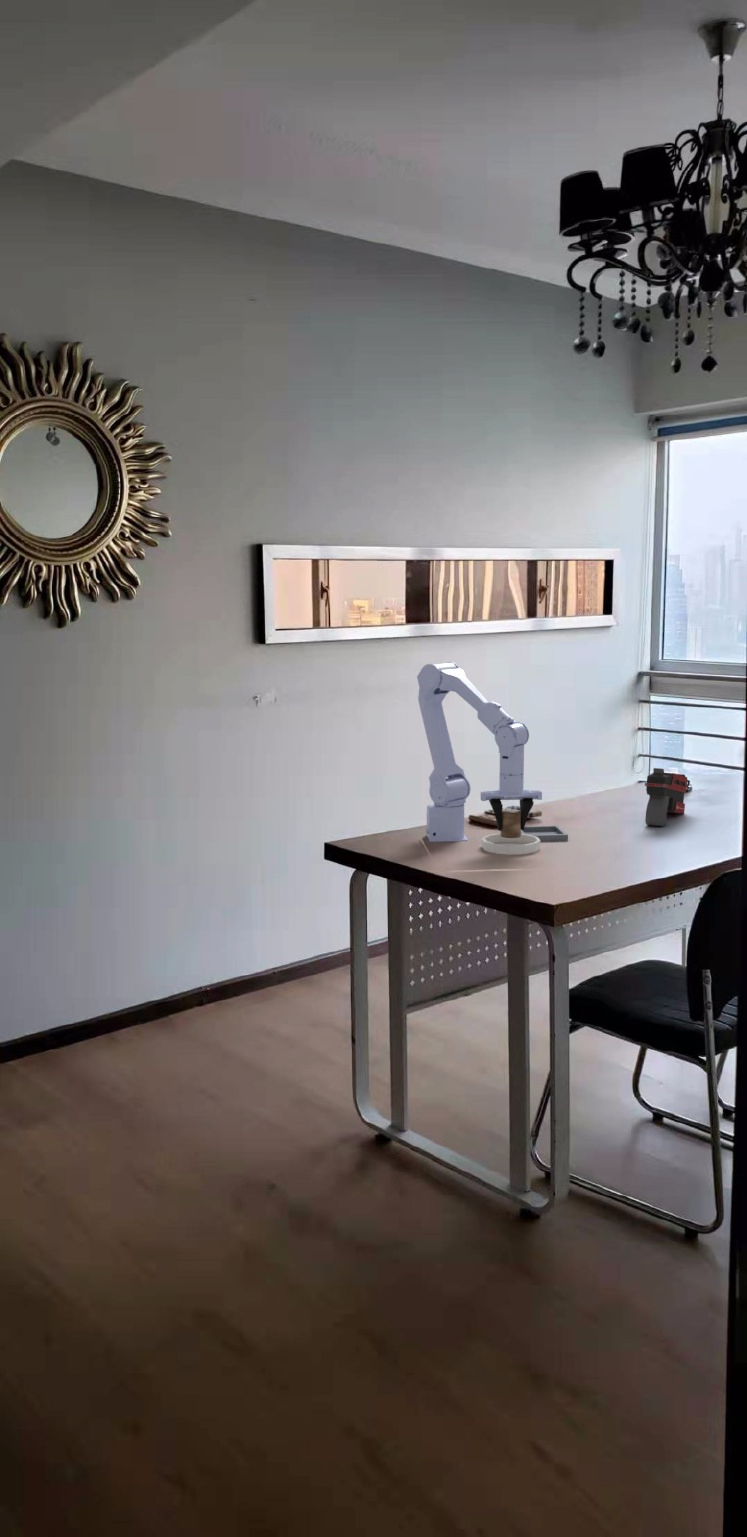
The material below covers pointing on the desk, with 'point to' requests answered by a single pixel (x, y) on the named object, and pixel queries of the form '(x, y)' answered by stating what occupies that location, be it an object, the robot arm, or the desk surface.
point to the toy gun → (664, 796)
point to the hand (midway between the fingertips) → (510, 829)
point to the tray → (546, 833)
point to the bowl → (511, 844)
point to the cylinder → (511, 824)
